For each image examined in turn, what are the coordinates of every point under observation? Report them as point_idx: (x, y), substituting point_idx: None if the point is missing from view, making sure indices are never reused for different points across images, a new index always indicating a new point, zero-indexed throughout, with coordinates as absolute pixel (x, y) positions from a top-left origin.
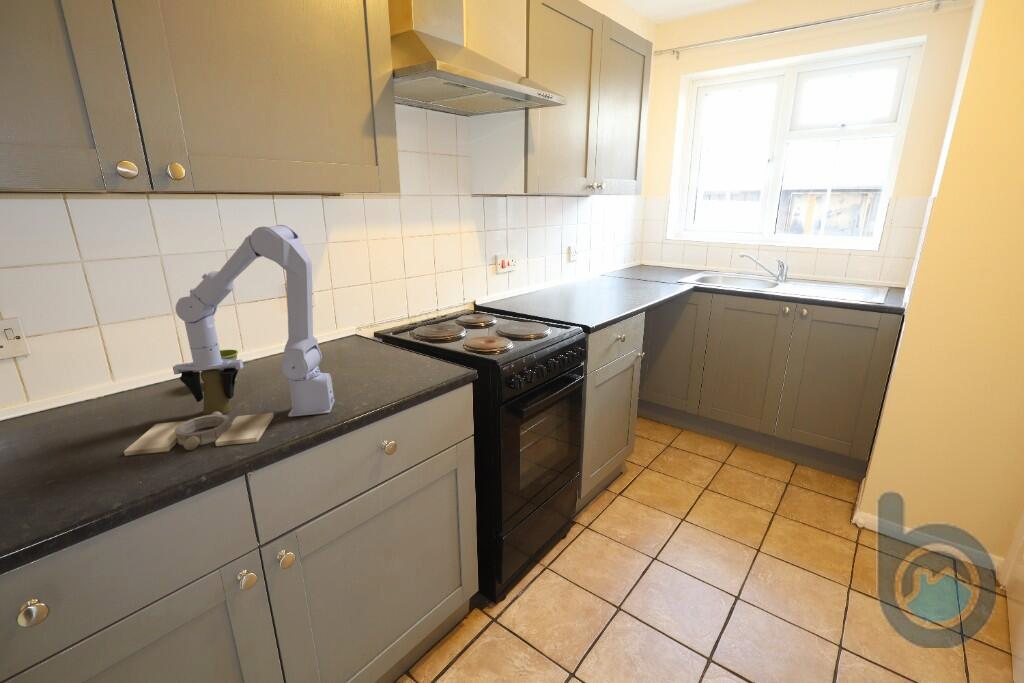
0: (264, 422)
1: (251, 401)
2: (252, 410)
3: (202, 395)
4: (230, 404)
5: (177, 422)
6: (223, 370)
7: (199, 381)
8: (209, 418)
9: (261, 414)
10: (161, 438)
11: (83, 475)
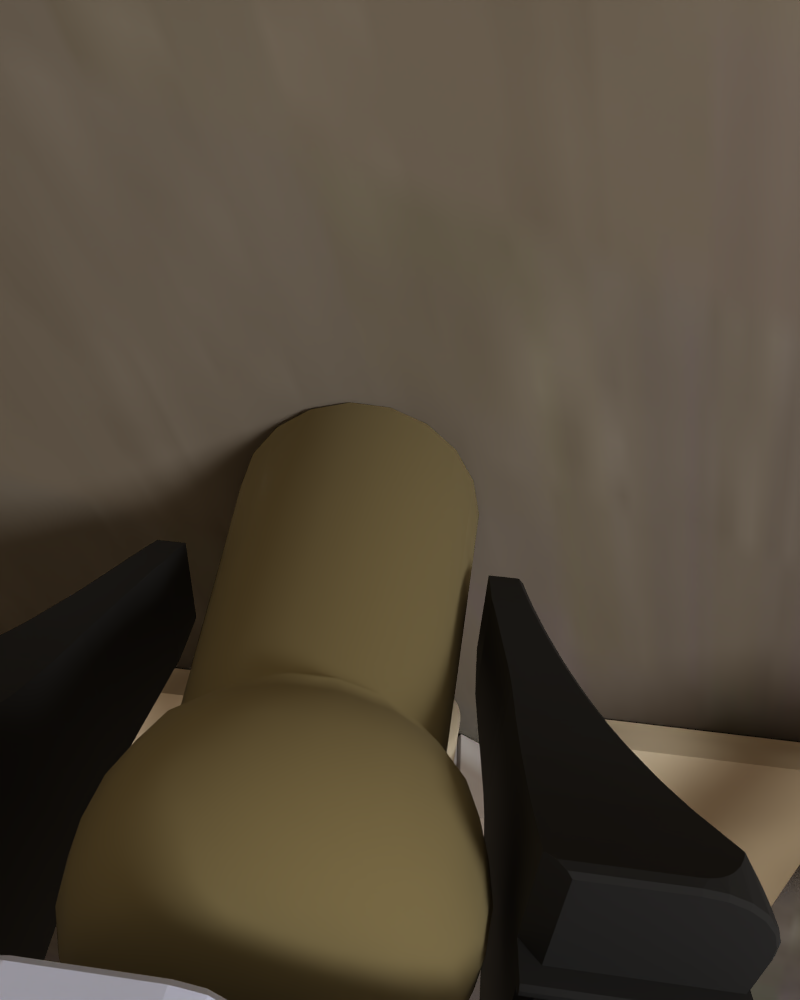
0: (773, 878)
1: (653, 335)
2: (672, 581)
3: (169, 565)
4: (472, 532)
5: (156, 701)
6: (470, 992)
7: (54, 685)
8: None
9: (762, 773)
10: None
11: (56, 940)
